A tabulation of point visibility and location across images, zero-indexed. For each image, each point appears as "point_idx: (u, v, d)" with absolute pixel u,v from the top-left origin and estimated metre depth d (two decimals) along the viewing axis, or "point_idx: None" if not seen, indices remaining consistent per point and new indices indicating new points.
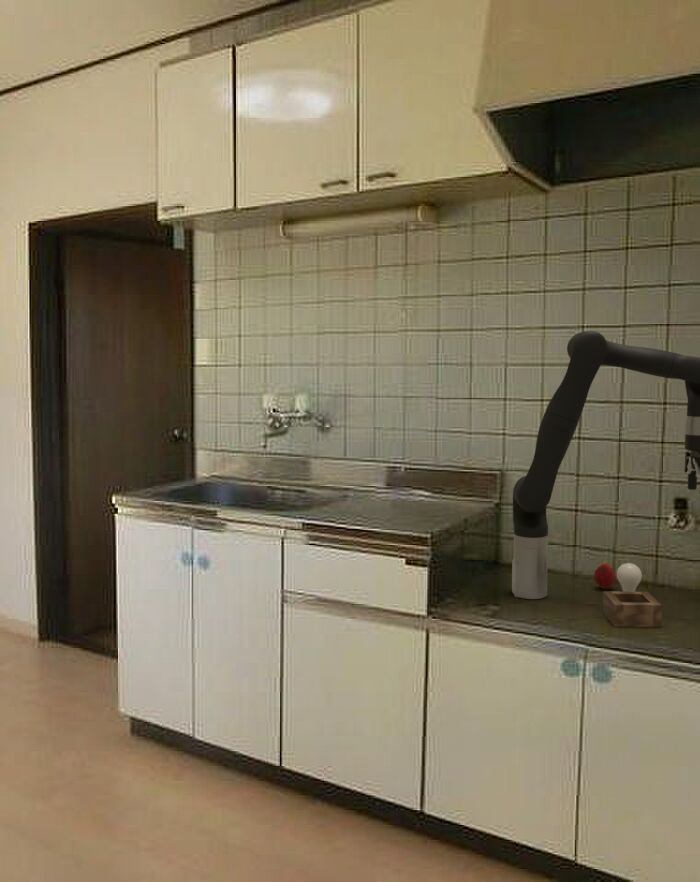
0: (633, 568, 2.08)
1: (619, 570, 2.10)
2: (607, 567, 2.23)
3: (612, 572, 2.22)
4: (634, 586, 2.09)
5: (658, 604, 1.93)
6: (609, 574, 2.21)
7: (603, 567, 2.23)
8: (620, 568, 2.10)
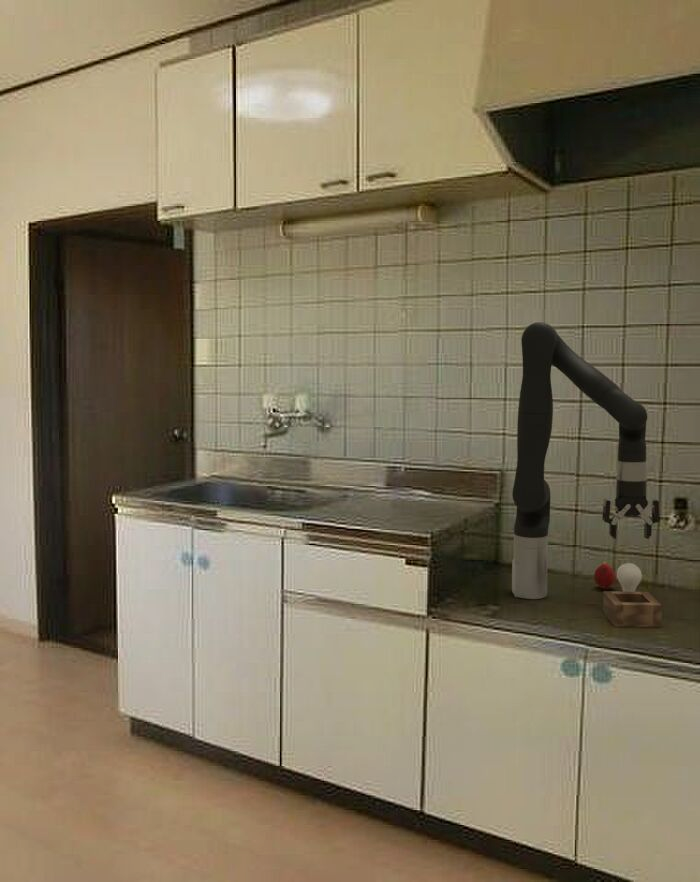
0: (633, 568, 2.08)
1: (619, 570, 2.10)
2: (607, 567, 2.23)
3: (612, 572, 2.22)
4: (634, 586, 2.09)
5: (658, 604, 1.93)
6: (609, 574, 2.21)
7: (603, 567, 2.23)
8: (620, 568, 2.10)
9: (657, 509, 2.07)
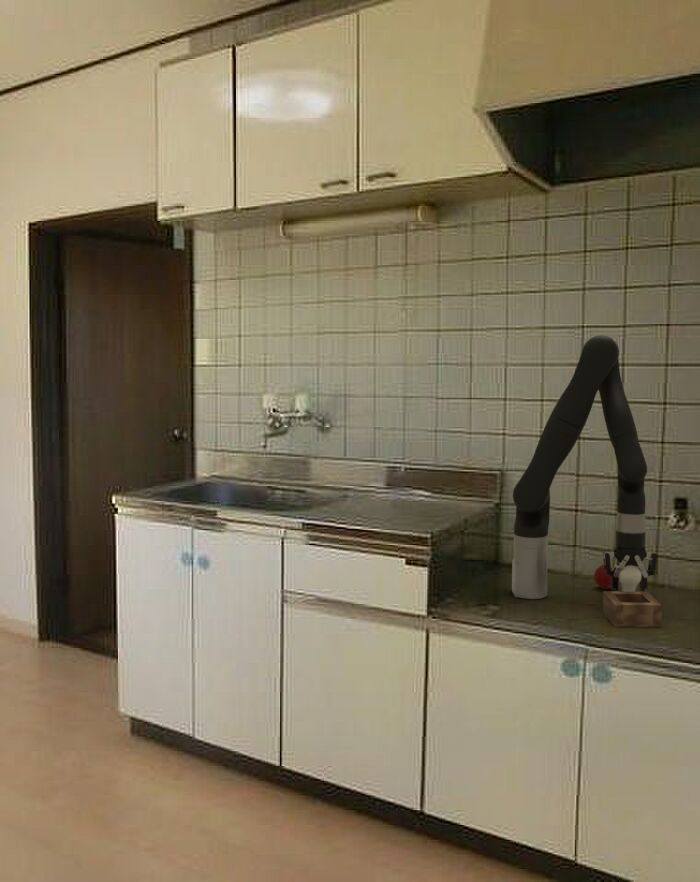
0: (633, 568, 2.08)
1: None
2: None
3: None
4: (634, 586, 2.09)
5: (658, 604, 1.93)
6: None
7: (603, 567, 2.23)
8: None
9: (654, 562, 2.08)
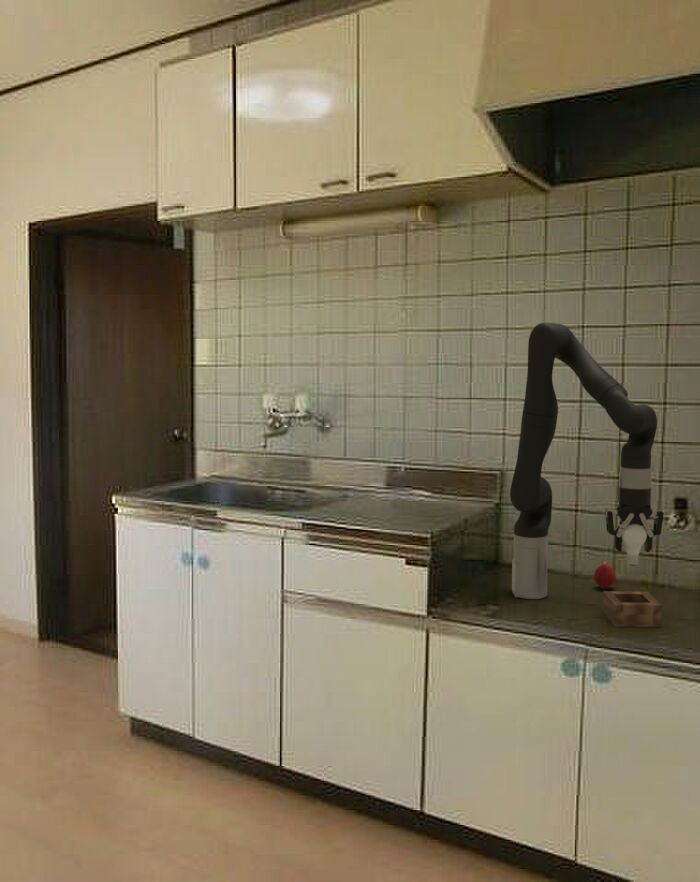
0: (638, 527, 1.94)
1: None
2: (607, 567, 2.23)
3: (612, 572, 2.22)
4: (639, 546, 1.95)
5: (658, 604, 1.93)
6: (609, 574, 2.21)
7: (603, 567, 2.23)
8: None
9: (660, 520, 1.94)
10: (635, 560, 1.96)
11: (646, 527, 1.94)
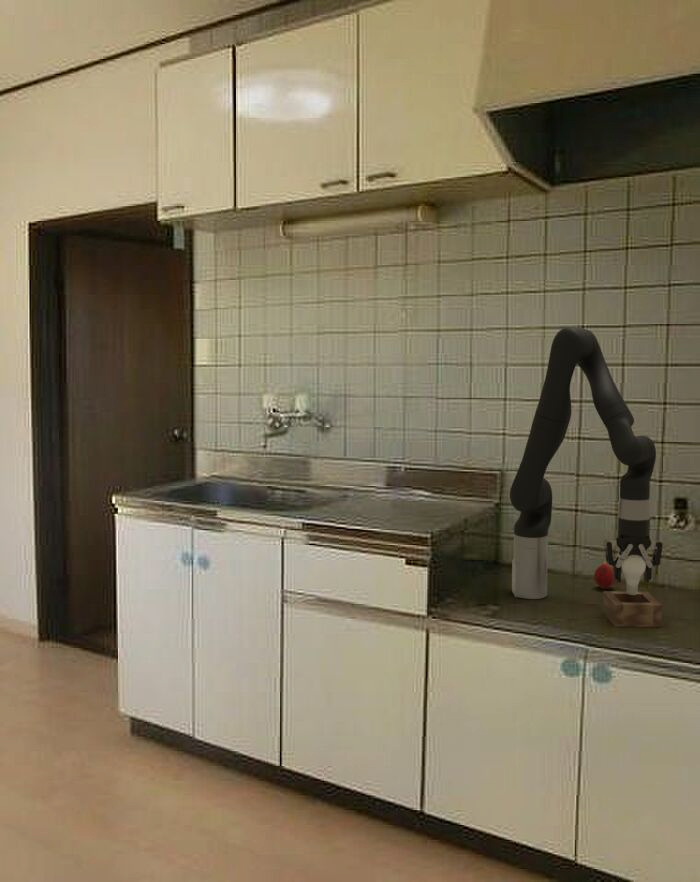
0: (637, 557, 1.95)
1: None
2: (607, 567, 2.23)
3: (612, 572, 2.22)
4: (638, 577, 1.95)
5: (658, 604, 1.93)
6: (609, 574, 2.21)
7: (603, 567, 2.23)
8: None
9: (659, 551, 1.95)
10: (634, 590, 1.97)
11: (645, 558, 1.95)
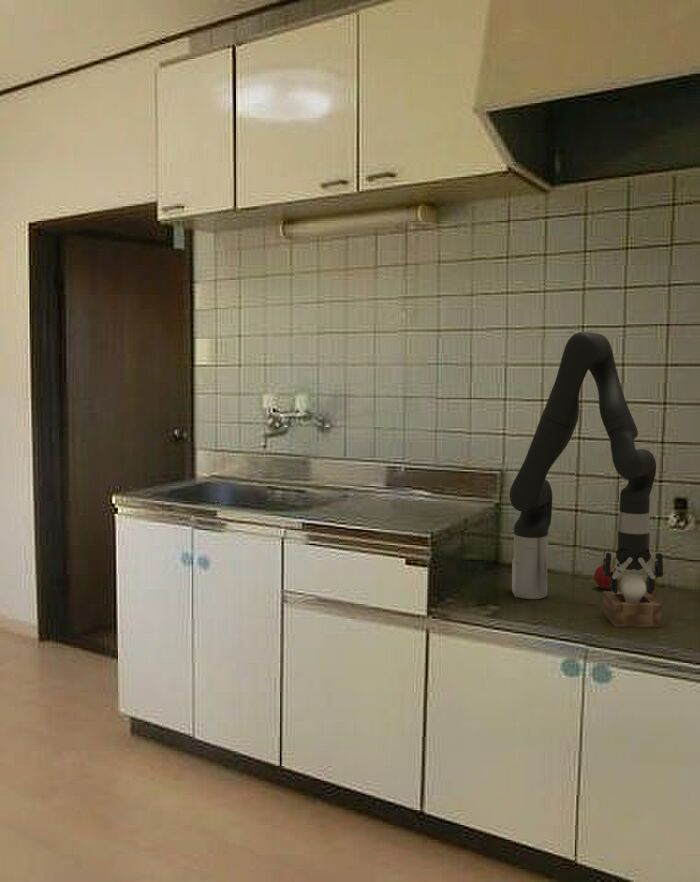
0: (638, 580, 1.95)
1: (623, 581, 1.97)
2: None
3: None
4: (638, 599, 1.96)
5: (658, 604, 1.93)
6: None
7: None
8: (624, 579, 1.97)
9: (660, 562, 1.95)
10: None
11: (647, 570, 1.95)
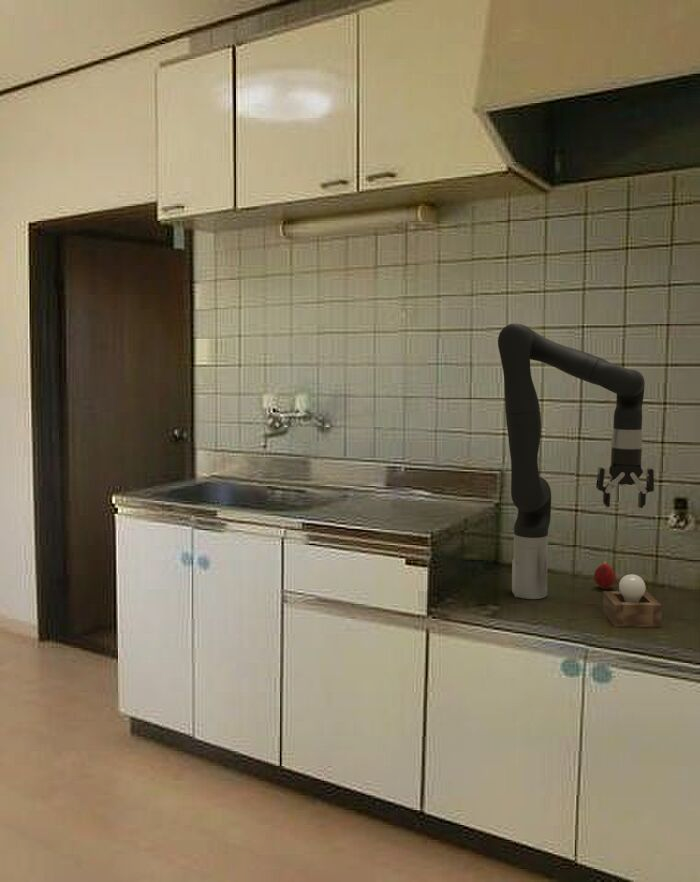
0: (636, 580, 1.96)
1: (621, 582, 1.97)
2: (607, 567, 2.23)
3: (612, 572, 2.22)
4: (637, 599, 1.96)
5: (658, 604, 1.93)
6: (609, 574, 2.21)
7: (603, 567, 2.23)
8: (622, 580, 1.97)
9: (651, 477, 2.05)
10: None
11: (638, 485, 2.05)
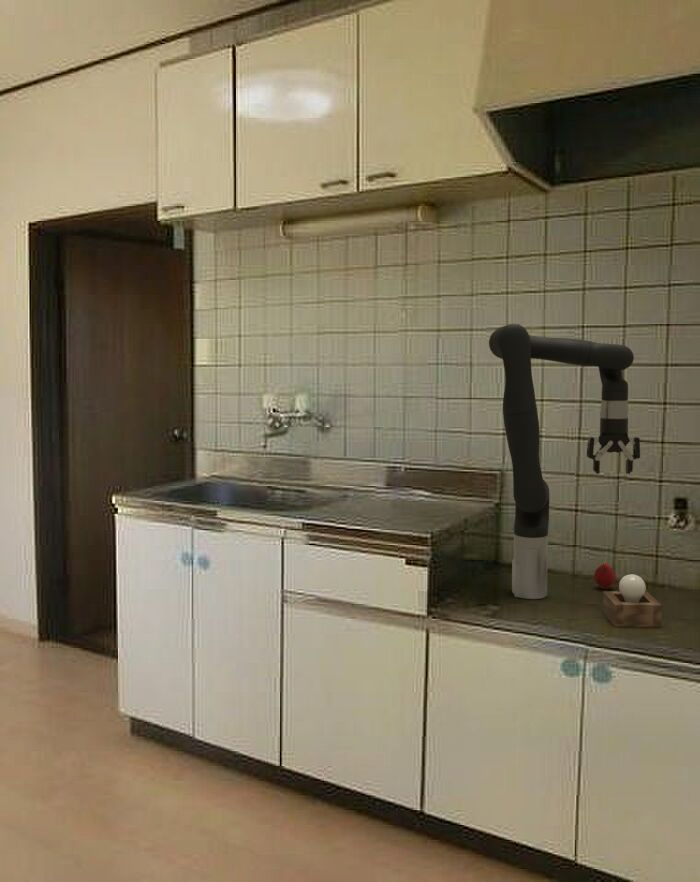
0: (636, 580, 1.95)
1: (621, 582, 1.97)
2: (607, 567, 2.23)
3: (612, 572, 2.22)
4: (637, 599, 1.96)
5: (658, 604, 1.93)
6: (609, 574, 2.21)
7: (603, 567, 2.23)
8: (623, 580, 1.97)
9: (638, 445, 2.20)
10: None
11: (626, 452, 2.20)
